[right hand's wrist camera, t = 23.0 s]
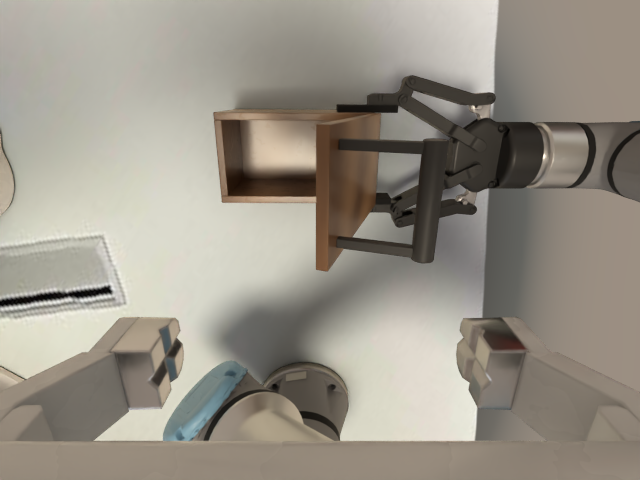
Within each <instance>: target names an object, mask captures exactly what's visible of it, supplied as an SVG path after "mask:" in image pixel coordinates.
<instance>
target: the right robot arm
mask: <svg viewBox="0 0 640 480" xmlns="http://www.w3.org/2000/svg"><path fill="white" fill-rule="evenodd" d="M13 194H14V180H13V175H12V171H11V168H10V166H9V163H8V161H7V159H6V157H5V155H4V153H3V150H2V147H1V136H0V215H1V214H3V213H4V212H5V211H6V209H7V208H8V207H9V205H10V203H11V201H12V198H13ZM179 332H180V327H179V322H178V320H177V319H176V318H158V317H141V318H140V317H123V318H119V319H118V320H117V322H116V323H115V324H114V325H113V326H112V327H111V328H110V329H109V330H108V331H107V332H106V333H105V335H104V336H103V337H102V338H101V339H100V340H99V341H98V342H97V343H96V344H95V345H94V347H93V348H92V349H91V350H90V351H89V352H84V353H80V354H78V355H76V356H74V357H72V358H70V359H68V360H66V361H64V362H61V363H59V364H57V365H55V366H53V367H51V368H49V369H47V370H45V371H43V372H41V373H39V374H37V375H34V376H32V377H30V378H28V379H26V380H24V381H22V382H20V383H18V384H16V385H14V386H12V387H10V388H8V389H5V390H3V391H1V392H0V480H640V392H638V391H636V390H634V389H632V388H630V387H628V386H626V385H624V384H622V383H620V382H618V381H616V380H614V379H612V378H609V377H607V376H605V375H603V374H601V373H599V372H597V371H595V370H593V369H591V368H589V367H587V366H585V365H582V364H581V363H578V362H576V361H574V360H572V359H570V358H568V357H566V356H564V355H562V354H560V353H556V352H554V353H553V352H551V351H550V350H549V349H548V348H547V347H546V345H545V344H544V343H543V342H542V341H541V340H540V339H539V338H538V337H537V336H536V335H535V334H534V332H533V331H532V330H531V329H530V328H529V327H528V326H527V325H526V324H525V323H524V321H523V320H522V319H520V318H518V317H499V318H463V320H462V322H461V326H460V332H461V334H462V336H463V337H464V338H463V339H462V340H461V341H460V342H459V343H458V344H457V351H456V357H457V365H458V369H459V372H460V374H461V376H462V378H464V379H465V380H467V381H468V382H470V384H469V391H470V393H471V395H472V397H473V399H474V401H475V403H476V405H477V407H478V409H503V410H511V411H512V412H513V413H514V414H515V415H516V416H517V417H519V418H520V419H521V420H522V421H524V422H525V423H526V424H527V425H529V426H530V427H531V428H532V429H533V430H534V431H536V432H537V433H538V434H539V435H541V436H542V437H543V438H544V439H545V440H547V441H93V440H95V439H96V438H97V437H98V436H100V435H101V434H102V433H103V432H104V431H106V430H107V429H108V428H109V427H111V426H112V425H113V424H114V423H115V422H117V421H118V420H119V419H120V418H121V417H123V416H124V415H125V414H126V413H128V412H129V410H137V409H162V407H163V405H164V403H165V401H166V399H167V397H168V395H169V393H170V391H171V384H170V382H172V381H173V380H175V379H176V378H178V376H179V374H180V371H181V369H182V364H183V360H184V350H183V344H182V343H181V342H180V341H179V340H178V339H177V338H176V337H177V336H178V334H179Z"/></svg>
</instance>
